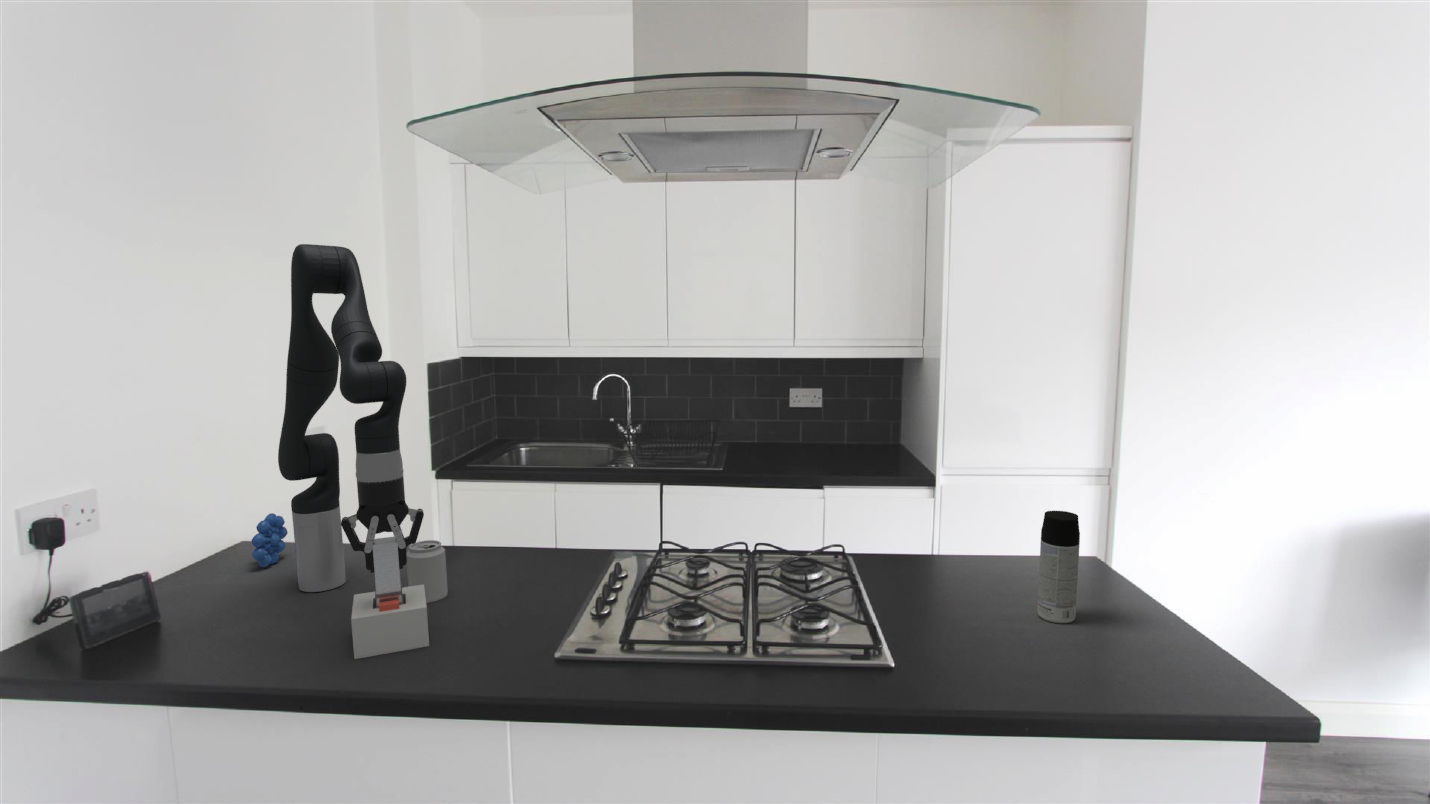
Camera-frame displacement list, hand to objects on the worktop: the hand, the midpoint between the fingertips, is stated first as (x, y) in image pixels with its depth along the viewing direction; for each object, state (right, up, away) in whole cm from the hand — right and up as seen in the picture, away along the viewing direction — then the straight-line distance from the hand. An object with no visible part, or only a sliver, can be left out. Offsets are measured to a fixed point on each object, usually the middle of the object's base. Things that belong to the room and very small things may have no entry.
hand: (386, 569), depth 137 cm
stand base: (0, -14, +2) cm, 14 cm away
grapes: (-47, -9, +46) cm, 66 cm away
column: (0, -11, +1) cm, 11 cm away
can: (-1, -11, +22) cm, 25 cm away
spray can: (+123, -11, +9) cm, 124 cm away
